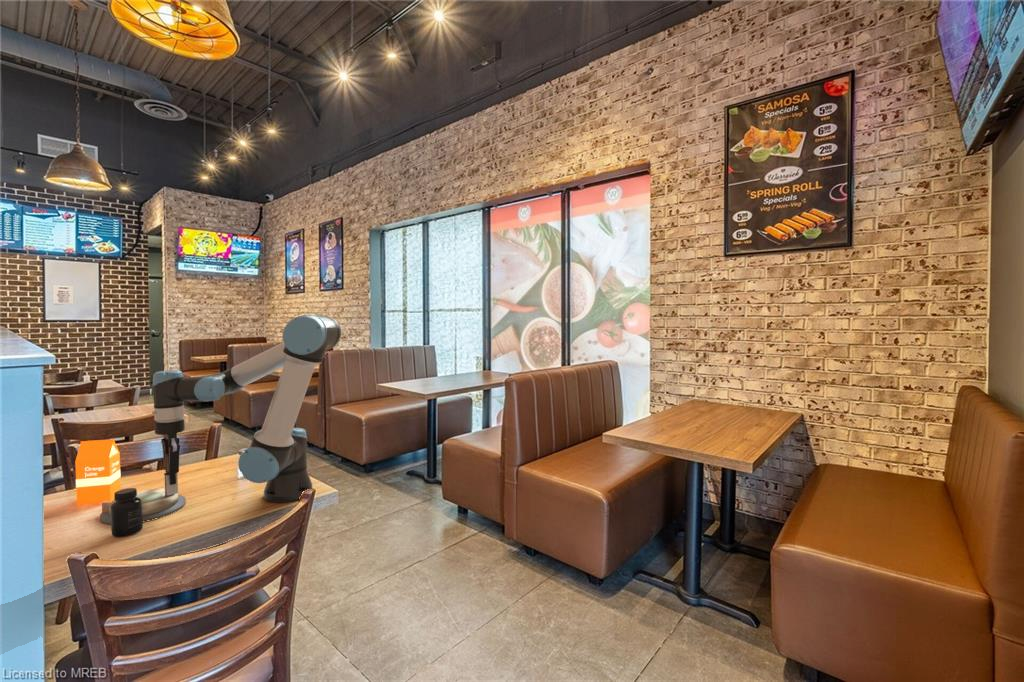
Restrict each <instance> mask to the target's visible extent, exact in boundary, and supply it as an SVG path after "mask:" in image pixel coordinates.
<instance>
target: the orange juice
mask: <svg viewBox="0 0 1024 682" xmlns="http://www.w3.org/2000/svg"><path fill="white" fill-rule="evenodd" d="M120 454H121V452H120V451H119V448H118V446H117V444H116V442H115V440H114V438H111V439H97V440H96V439H95V440H93V439H92V440H82V441H81V440H80V444H79V448H78V452H77V455H76V458H75V463H74V465H75V488H76V490H75V491H76V492H75V493H76V506H77V505H78V506H85V505H84V504H88V505H94V504H95V503H97V504H102V502H104V501H110V503H111V502H112V500H113V499H114V493H115V492H116V491H119V490H122V485H121V476H122V475H121V455H120Z"/></svg>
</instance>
